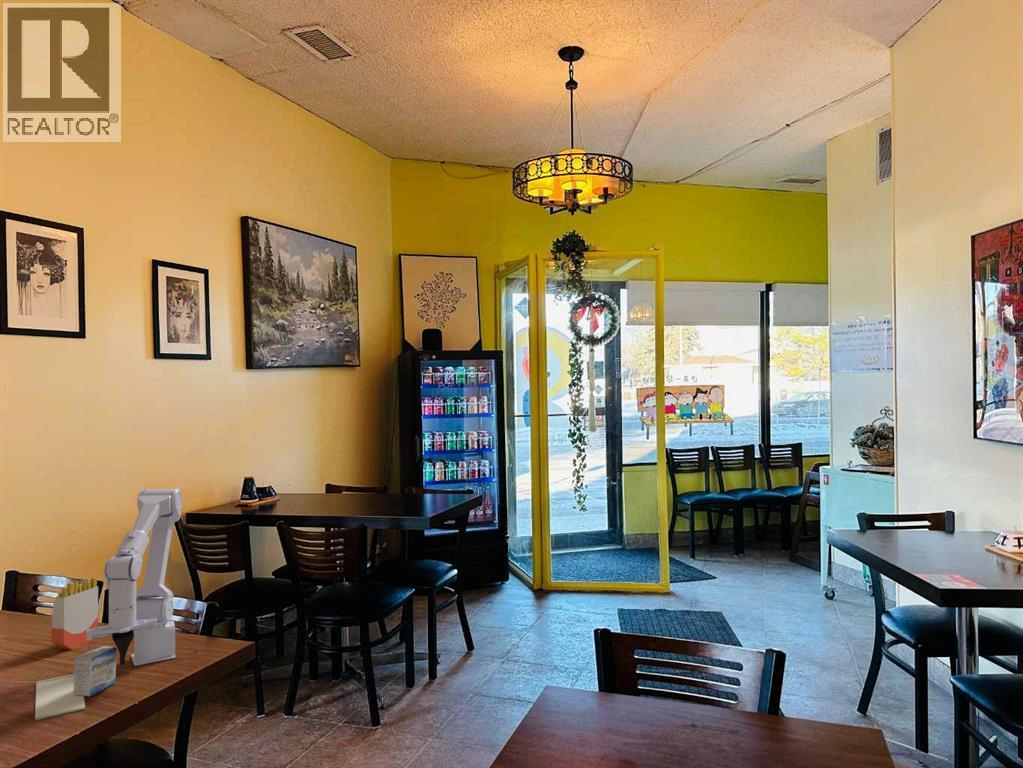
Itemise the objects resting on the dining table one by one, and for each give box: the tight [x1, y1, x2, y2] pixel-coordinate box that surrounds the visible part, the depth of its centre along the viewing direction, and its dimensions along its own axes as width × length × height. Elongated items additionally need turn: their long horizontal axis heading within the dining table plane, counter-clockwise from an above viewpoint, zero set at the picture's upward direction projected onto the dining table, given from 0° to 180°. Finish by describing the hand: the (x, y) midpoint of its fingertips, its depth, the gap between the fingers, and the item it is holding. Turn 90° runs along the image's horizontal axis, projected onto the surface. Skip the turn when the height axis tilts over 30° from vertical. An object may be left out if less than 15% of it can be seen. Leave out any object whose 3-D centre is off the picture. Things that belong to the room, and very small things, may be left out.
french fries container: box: [50, 576, 99, 651], centre depth 186 cm, size 5×11×18 cm, turn 166°
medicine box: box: [73, 645, 118, 697], centre depth 158 cm, size 8×4×9 cm, turn 169°
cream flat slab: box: [34, 673, 86, 721], centre depth 155 cm, size 9×22×1 cm, turn 34°
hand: (122, 663), depth 161 cm, fingers closed
